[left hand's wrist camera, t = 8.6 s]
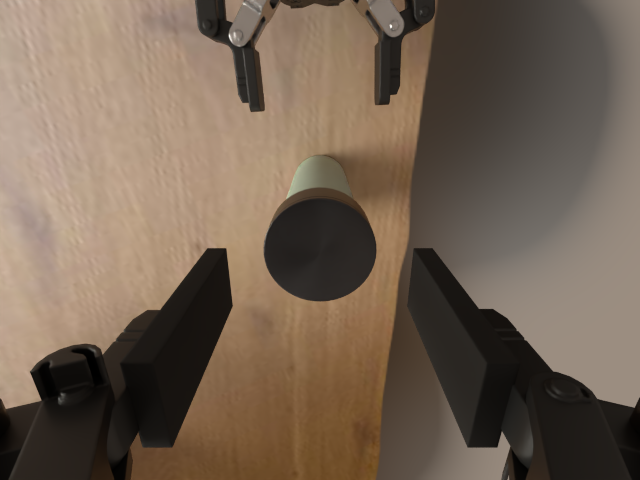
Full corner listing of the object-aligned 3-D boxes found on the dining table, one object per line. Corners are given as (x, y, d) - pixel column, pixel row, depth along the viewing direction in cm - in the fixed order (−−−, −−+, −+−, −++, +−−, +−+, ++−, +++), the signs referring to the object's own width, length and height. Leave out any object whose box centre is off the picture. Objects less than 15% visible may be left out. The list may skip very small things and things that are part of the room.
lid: (288, 290, 20) (284, 312, 18) (255, 204, 18) (246, 217, 16) (380, 266, 19) (387, 286, 17) (356, 174, 17) (360, 183, 15)
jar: (303, 212, 33) (289, 300, 18) (287, 163, 31) (258, 219, 16) (351, 198, 32) (377, 277, 18) (337, 148, 30) (354, 191, 16)
